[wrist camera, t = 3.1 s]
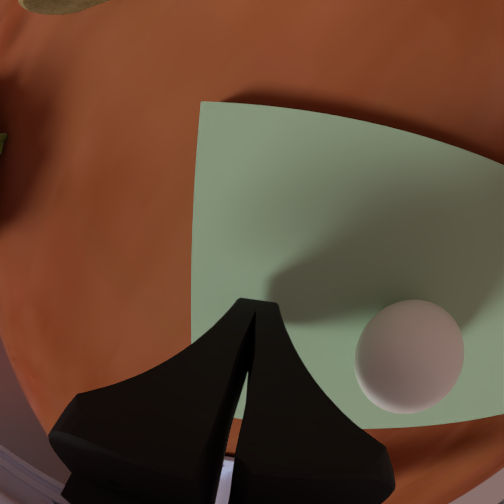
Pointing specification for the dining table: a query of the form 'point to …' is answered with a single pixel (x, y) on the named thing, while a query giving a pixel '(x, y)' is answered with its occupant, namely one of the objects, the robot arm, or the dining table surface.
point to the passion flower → (2, 140)
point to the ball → (409, 356)
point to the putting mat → (349, 243)
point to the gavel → (58, 6)
